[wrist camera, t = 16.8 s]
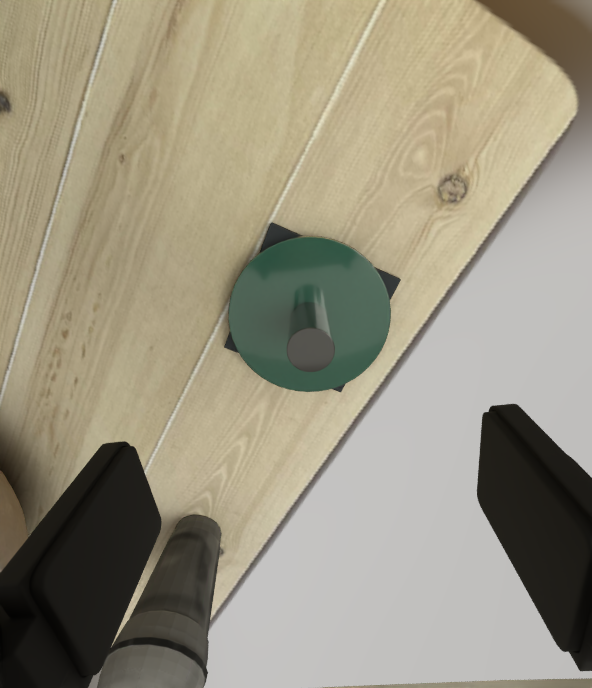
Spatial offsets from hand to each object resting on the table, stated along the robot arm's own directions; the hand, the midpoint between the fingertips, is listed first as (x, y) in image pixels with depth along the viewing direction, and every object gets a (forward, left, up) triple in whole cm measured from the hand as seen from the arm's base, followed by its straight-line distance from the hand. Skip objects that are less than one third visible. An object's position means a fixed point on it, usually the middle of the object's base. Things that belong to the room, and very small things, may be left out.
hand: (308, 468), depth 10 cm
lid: (-1, +1, -18) cm, 18 cm away
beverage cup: (0, +26, -19) cm, 32 cm away
